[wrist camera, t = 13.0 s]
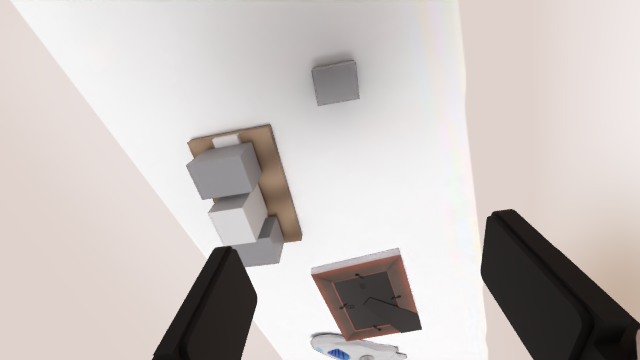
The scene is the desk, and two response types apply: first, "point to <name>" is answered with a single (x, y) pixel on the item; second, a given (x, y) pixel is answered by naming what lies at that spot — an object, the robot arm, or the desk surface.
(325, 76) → the grey rectangular block
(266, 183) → the rail board
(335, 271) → the picture frame
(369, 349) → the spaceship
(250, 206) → the block
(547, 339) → the robot arm
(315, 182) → the desk surface
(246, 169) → the mounted modules
